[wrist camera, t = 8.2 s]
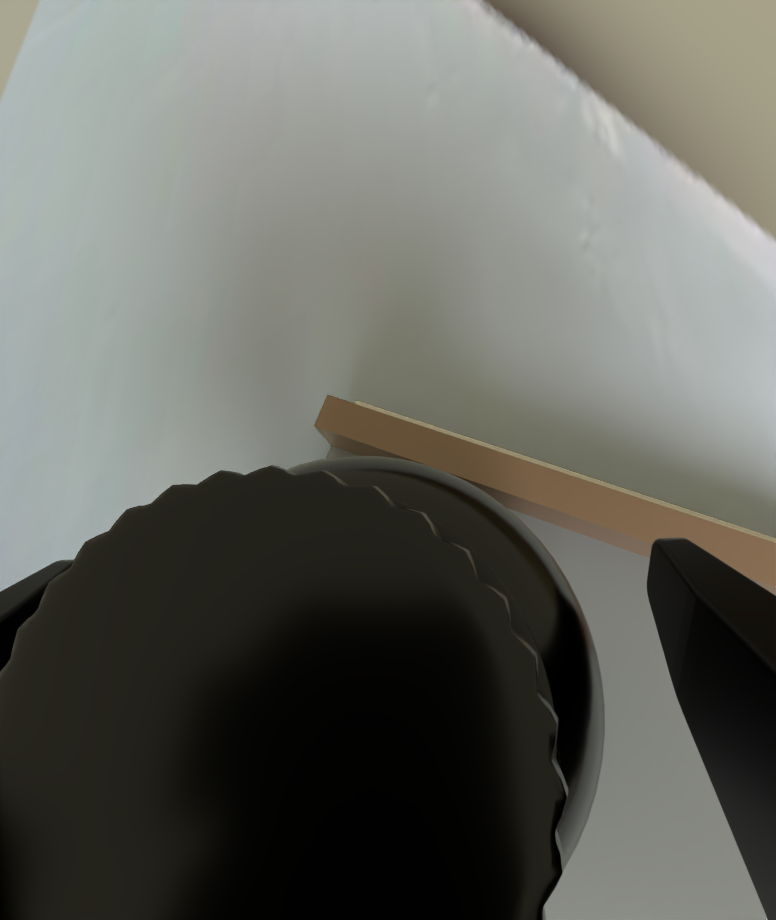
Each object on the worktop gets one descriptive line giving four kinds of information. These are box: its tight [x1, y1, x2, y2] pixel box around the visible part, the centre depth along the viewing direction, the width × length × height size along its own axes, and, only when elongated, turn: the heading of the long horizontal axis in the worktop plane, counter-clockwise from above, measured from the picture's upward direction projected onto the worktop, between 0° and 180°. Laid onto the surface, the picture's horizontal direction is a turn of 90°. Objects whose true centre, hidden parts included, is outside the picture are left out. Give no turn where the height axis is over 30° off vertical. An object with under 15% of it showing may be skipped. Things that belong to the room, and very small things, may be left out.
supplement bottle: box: [0, 456, 605, 920], centre depth 10 cm, size 7×7×12 cm
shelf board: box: [314, 395, 776, 920], centre depth 14 cm, size 12×14×3 cm
